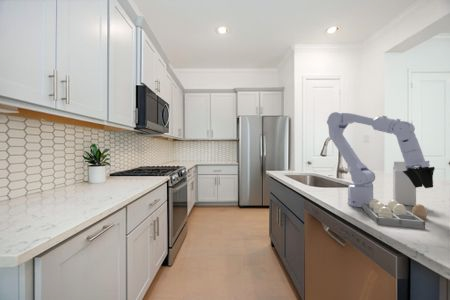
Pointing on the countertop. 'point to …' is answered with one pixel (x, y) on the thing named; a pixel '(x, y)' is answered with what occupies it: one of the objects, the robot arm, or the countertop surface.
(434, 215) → the countertop surface
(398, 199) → the milk carton
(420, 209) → the brown egg
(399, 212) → the cream eggs
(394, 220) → the egg carton
